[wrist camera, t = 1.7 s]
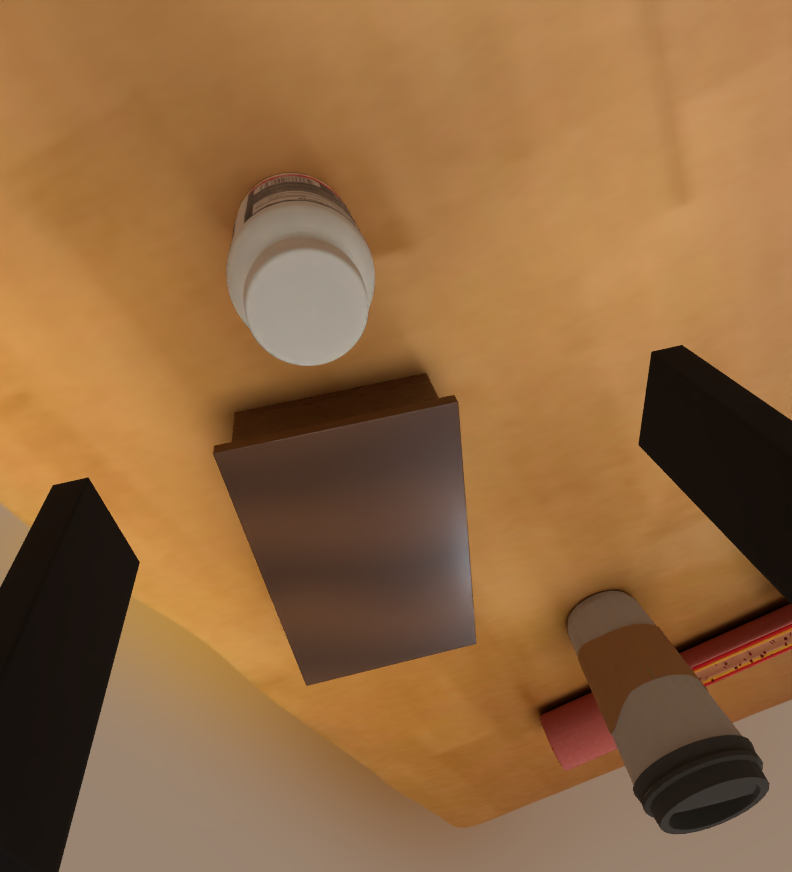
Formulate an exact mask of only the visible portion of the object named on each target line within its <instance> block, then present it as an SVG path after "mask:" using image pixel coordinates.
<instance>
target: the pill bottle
mask: <svg viewBox="0 0 792 872" xmlns="http://www.w3.org/2000/svg"><path fill="white" fill-rule="evenodd" d="M226 275H227V286H228V291H229V295H230V298H231V301H232V303H233V306H234V308H235V310H236V312H237V313H238V315H239V316H240V318H241V319H242V321H243V322H244V323H245V324H246V326H247V327H249V328H250V331H251V333H252V334H253V336H254V338H255V339H256V341H257V342H258V343H259V344H260V345H261V346H262V347H263V348H264V349H265V350H266V351H267V352H268V353H270V354H271V355H273V356H274V357H276V358H278V359H280V360H282V361H285V362H287V363H291V364H295V365H300V366H314V365H321V364H325V363H328V362H331V361H333V360H336V359H338V358H340V357H341V356H343V355H344V354H345V353H347V352H348V351H349V350H350V349H351V348H352V347H353V346H354V345H355V344H356V343H357V341H358V340H359V338H360V337H361V335H362V333H363V331H364V329H365V326H366V323H367V319H368V312H369V307H370V305H371V302H372V298H373V293H374V287H375V269H374V263H373V259H372V255H371V252H370V249H369V247H368V245H367V243H366V241H365V239H364V238H363V236H362V234H361V232H360V230H359V229H358V227H357V225H356V223H355V221H354V219H353V218H352V216H351V214H350V213H349V211H348V209H347V207H346V206H345V204H344V203H343V201H342V200H341V198H340V197H339V196H338V195H337V194H336V193H335V192H334V191H333V190H332V189H331V188H330V187H329V186H328V185H326V184H325V183H323V182H322V181H320V180H318V179H316V178H314V177H312V176H309V175H305V174H301V173H282V174H278V175H274V176H271V177H269V178H266V179H264V180H263V181H261V182H259V183H258V184H257V185H256V186H254V187H253V188H252V189H251V190H250V191H249V193H248V194H247V195H246V197H245V198H244V200H243V201H242V203H241V205H240V208H239V210H238V213H237V216H236V221H235V224H234V230H233V236H232V242H231V245H230V249H229V253H228V258H227V267H226Z"/></svg>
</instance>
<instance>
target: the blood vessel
mask: <svg viewBox="0 0 792 872" xmlns="http://www.w3.org/2000/svg"><path fill="white" fill-rule="evenodd" d="M791 649H792V604H789V605H787V606H784V607H782V608H780V609H778V610H775V611H773V612H771V613H769V614H766V615H764V616H762V617H760V618H757V619H755V620H753V621H751V622H748V623H746V624H744V625H742V626H739V627H737V628H735V629H733V630H730V631H728V632H726V633H724V634H722V635H719V636H717V637H715V638H713V639H710V640H708V641H706V642H704V643H701V644H699V645H697V646H695V647H692V648H690V649H688V650H686V651H683V652H681V653H679V654H680V655H681V656H682V658H683V659H684V660H685V661H686V663H687V664H688V665H689V667H690V668H691V669H692V670H693V672H694V673H695V674H696V675H697V677H698V678H699V679H700V681H701V682H702V683H703V684H704V686H705V687H706V686H709V685H711V684H713V683H716V682H718V681H720V680H723V679H725V678H727V677H729V676H732V675H734V674H736V673H739V672H741V671H743V670H745V669H748V668H750V667H752V666H755V665H757V664H759V663H762V662H764V661H766V660H768V659H771V658H773V657H775V656H778V655H780V654H782V653H784V652H787V651H789V650H791ZM540 720H541V722H542V726H543V728H544V731H545V733H546V736H547V738H548V741H549V743H550V745H551V747H552V749H553V752H554V754H555V756H556V757H557V759H558V761H559V763H560V765H561V766H562V767H563V768H564V770H566V771H567V770H569V769H572V768H574V767H576V766H579V765H581V764H583V763H586V762H588V761H590V760H593V759H595V758H597V757H600V756H602V755H604V754H607V753H609V752H611V751H614V750H616V749H618V748H617V746H616V743H615V741H614V739H613V736H612V734H610V732H609V730H608V728H607V725H606V723H605V721H604V718H603V716H602V714H601V712H600V709H599V707H598V705H597V702H596V700H595V698H594V695H593V693H592V692H591V693H589V694H587V695H585V696H582V697H580V698H578V699H576V700H573V701H571V702H569V703H567V704H564V705H562V706H560V707H558V708H556V709H553V710H551V711H549V712H547V713H544V714H542V715H541V716H540Z"/></svg>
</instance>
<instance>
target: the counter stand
mask: <svg viewBox="0 0 792 872" xmlns="http://www.w3.org/2000/svg"><path fill="white" fill-rule="evenodd" d="M213 455H214V457H215V460H216V462H217V465H218V467H219V470H220V472H221V475H222V477H223V480H224V482H225V485H226V487H227V490H228V492H229V495H230V497H231V500H232V502H233V505H234V507H235V510H236V512H237V515H238V517H239V520H240V522H241V524H242V527H243V529H244V532H245V534H246V537H247V539H248V542H249V544H250V547H251V549H252V552H253V554H254V557H255V559H256V562H257V564H258V567H259V569H260V572H261V574H262V577H263V579H264V582H265V584H266V587H267V589H268V592H269V594H270V597H271V599H272V602H273V604H274V607H275V609H276V612H277V614H278V616H279V619H280V621H281V624H282V626H283V629H284V631H285V634H286V636H287V639H288V641H289V644H290V646H291V649H292V651H293V654H294V656H295V659H296V661H297V664H298V666H299V669H300V671H301V674H302V676H303V679H304V681H305V684H306V686H308V685H312V684H316V683H320V682H324V681H328V680H332V679H336V678H340V677H344V676H348V675H353V674H357V673H361V672H365V671H369V670H373V669H377V668H381V667H385V666H389V665H393V664H397V663H401V662H405V661H409V660H413V659H417V658H421V657H425V656H429V655H433V654H437V653H441V652H445V651H449V650H453V649H457V648H461V647H465V646H469V645H473V644H476V634H475V620H474V607H473V594H472V580H471V567H470V554H469V540H468V527H467V514H466V500H465V487H464V474H463V460H462V447H461V434H460V420H459V407H458V401H457V399H456V397H455V395H452V396H447V397H443V398H439V397H438V395H437V393H436V391H435V389H434V387H433V385H432V383H431V381H430V379H429V377H428V375H427V374H426V373H425V374H420V375H415V376H411V377H406V378H401V379H396V380H391V381H386V382H382V383H377V384H372V385H367V386H362V387H358V388H353V389H348V390H343V391H338V392H333V393H329V394H324V395H319V396H314V397H309V398H304V399H300V400H295V401H290V402H285V403H280V404H275V405H271V406H266V407H261V408H256V409H251V410H247V411H242V412H237V413H235V415H234V425H233V434H232V442H230V443H225V444H220V445H215V446H214V451H213Z"/></svg>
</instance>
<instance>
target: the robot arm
mask: <svg viewBox="0 0 792 872" xmlns="http://www.w3.org/2000/svg"><path fill="white" fill-rule="evenodd" d="M639 446H640V447H641V448H642V449H643V450H644V451H645V452H646V453H647V454H648V455H649V456H650V457H651V458H652V459H653V461H654V462H655V463H656V464H657V465H658V466H659V467H660V468H661V469H662V470H663V471H664V472H665V473H666V474H667V475H668V476H669V477H670V478H671V479H672V480H673V481H674V482H675V483H676V485H677V486H678V487H679V488H680V489H681V490H682V491H683V492H684V493H685V494H686V495H687V496H688V497H689V498H690V499H691V500H692V501H693V502H694V503H695V504H696V505H697V506H698V507H699V508H700V510H701V511H702V512H703V513H704V514H705V515H706V516H707V517H708V518H709V519H710V520H711V521H712V522H713V523H714V524H715V525H716V526H717V527H718V528H719V529H720V530H721V531H722V532H723V533H724V535H725V536H726V537H727V538H728V539H729V540H730V541H731V542H732V543H733V544H734V545H735V546H736V547H737V548H738V549H739V550H740V551H741V552H742V553H743V554H744V555H745V556H746V557H747V559H748V560H749V561H750V562H751V563H752V564H753V565H754V566H755V567H756V568H757V569H758V570H759V571H760V572H761V573H762V574H763V575H764V576H765V577H766V578H767V579H768V580H769V581H770V582H771V584H772V585H773V586H774V587H775V588H776V589H777V590H778V591H779V592H780V593H781V594H782V595H783V596H784V597H785V598H786V599H787V600H788V601H789V602H790V603H791V604H792V421H791V420H790V419H789V418H787V417H786V416H784V415H783V414H781V413H780V412H778V411H777V410H775V409H774V408H773V407H771V406H770V405H768V404H767V403H765V402H764V401H762V400H761V399H759V398H758V397H757V396H755V395H754V394H752V393H751V392H749V391H748V390H746V389H745V388H744V387H742V386H741V385H739V384H738V383H736V382H735V381H733V380H732V379H730V378H729V377H728V376H726V375H725V374H723V373H722V372H720V371H719V370H717V369H716V368H715V367H713V366H712V365H710V364H709V363H707V362H706V361H704V360H703V359H701V358H700V357H699V356H697V355H696V354H694V353H693V352H691V351H690V350H688V349H687V348H686V347H684V346H683V345H680V346H676V347H671V348H667V349H662V350H658V351H653V352H651V359H650V367H649V374H648V381H647V388H646V395H645V402H644V409H643V416H642V423H641V430H640V437H639ZM139 563H140V562H139V560H138V559H137V557H136V555H135V554H134V552H133V550H132V549H131V547H130V545H129V544H128V542H127V540H126V539H125V537H124V535H123V534H122V532H121V531H120V529H119V527H118V526H117V524H116V522H115V521H114V519H113V517H112V516H111V514H110V512H109V511H108V509H107V507H106V506H105V504H104V502H103V501H102V499H101V497H100V496H99V494H98V493H97V491H96V489H95V488H94V486H93V484H92V483H91V481H90V479H89V478H84V479H79V480H75V481H70V482H66V483H61V484H57V485H53V486H52V488H51V490H50V492H49V494H48V496H47V498H46V500H45V502H44V504H43V506H42V507H41V509H40V511H39V513H38V515H37V517H36V519H35V521H34V523H33V525H32V527H31V529H30V531H29V533H28V535H27V537H26V539H25V541H24V542H23V544H22V546H21V548H20V550H19V552H18V554H17V556H16V558H15V560H14V562H13V564H12V566H11V568H10V570H9V572H8V574H7V575H6V577H5V579H4V581H3V583H2V585H1V587H0V872H59V868H60V864H61V860H62V856H63V852H64V849H65V845H66V841H67V837H68V833H69V829H70V825H71V822H72V818H73V814H74V811H75V807H76V803H77V799H78V795H79V791H80V788H81V784H82V780H83V776H84V773H85V769H86V765H87V761H88V757H89V754H90V749H91V746H92V742H93V738H94V734H95V730H96V727H97V723H98V719H99V715H100V712H101V707H102V704H103V700H104V696H105V693H106V688H107V685H108V681H109V677H110V673H111V670H112V666H113V662H114V658H115V654H116V651H117V647H118V643H119V639H120V635H121V631H122V628H123V624H124V620H125V616H126V612H127V609H128V605H129V601H130V597H131V593H132V590H133V586H134V582H135V578H136V574H137V571H138V567H139Z"/></svg>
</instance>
